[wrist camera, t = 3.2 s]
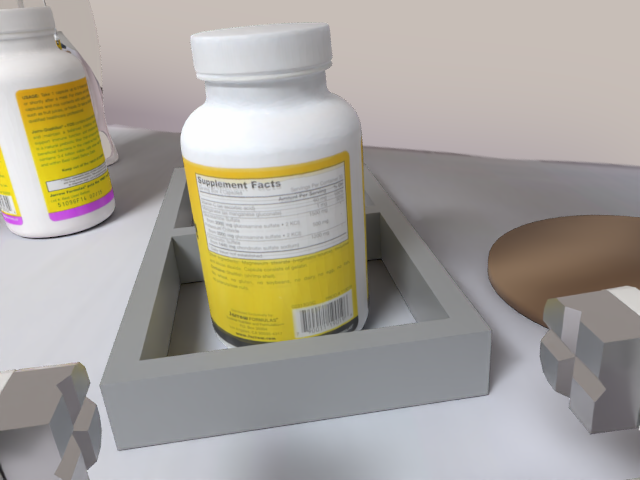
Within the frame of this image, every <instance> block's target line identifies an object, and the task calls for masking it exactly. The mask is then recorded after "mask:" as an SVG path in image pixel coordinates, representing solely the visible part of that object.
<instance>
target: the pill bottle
mask: <svg viewBox="0 0 640 480" xmlns="http://www.w3.org/2000/svg"><path fill="white" fill-rule="evenodd" d="M190 41H191V49H192V55H193V62H194V69H195V71H196V72H197V75H196V76H197V78H198V79H200V80H204V81H205V89H206V97H207V98H206V102H205V103H204V104H203V105H202V106H200V107H199V108H197V109H196V110H195V111H194V112H193V113H192V114H191V115H190V116H189V117H188V119H187V120H186V122H185V124H184V126H183V128H182V132H181V141H180V142H181V151H182V157H183V163H184V169H185V174H186V180H187V185H188V191H189V197H190V203H191V208H192V214H193V219H194V225H195V230H196V236H197V242H198V247H199V253H200V259H201V264H202V270H203V275H204V281H205V286H206V291H207V297H208V302H209V308H210V314H211V319H212V323H213V327H214V330H215V333H216V335H217V336H218V338H219V339H220V341H221V342H222V343H223V344H224V345H225V346H226V347H227V348H228V349H229V348H236V347H243V346H251V345H258V344H265V343H273V342H280V341H287V340H295V339H302V338H309V337H316V336H324V335H331V334H338V333H346V332H353V331H360V330H361V329H362V327H363V326H364V324H365V322H366V319H367V316H368V311H369V293H368V271H367V241H366V215H365V192H364V167H363V146H362V132H361V124H360V120H359V117H358V115H357V113H356V111H355V110H354V108H353V107H352V106H351V105H350V104H349V103H348V102H347V101H346V100H345V99H343V98H342V97H340V96H338V95H336V94H334V93H331V92H330V91H328V89H327V86H326V75H325V70H326V69H328V68H330V67H331V66H332V62H331V59H332V49H331V38H330V29H329V25H328V24H327V23H316V22H313V23H312V22H304V23H281V24H267V25H254V26H244V27H235V28H225V29H218V30H211V31H205V32H200V33H196V34H193V35H191V38H190Z"/></svg>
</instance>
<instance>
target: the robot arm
mask: <svg viewBox="0 0 640 480" xmlns="http://www.w3.org/2000/svg"><path fill="white" fill-rule="evenodd" d="M543 321H544V322H545V323H546V325H547V326H548V327H549V328H550V329H549V331H548V332H547V333H546V335H545V336H544V337H543V338H542V340H541V345H540V360H541V364H542V369H543V372H544V374H545V376H546V379H547V381H548V382H549V384H550V385H551V386H552V388H553V389H554V390H555V391H556V392H558V393H560V394H562V395H565V396H567V397H569V398H570V402H569V409H570V410H571V411H572V412H573V414H574V415H575V416H576V417H577V419H578V420H579V421H580V422H581V423H582V425H583V426H584V427H585V428H586V430H587V431H588V432H589V433H590V434H597V433H604V432H612V431H619V430H627V429H634V428H639V431H640V290H638V289H637V288H635V287H631V286H623V287H617V288H611V289H605V290H601V291H595V292H589V293H583V294H576V295H570V296H564V297H558V298H552V299H548V300H547V302H546V304H545V307H544V313H543ZM89 385H90V380H89V377H88V374H87V371H86V368H85V366H83V365H82V364H81V363H80V362H77V363H68V364H60V365H51V366H43V367H34V368H26V369H19V370H8V371H1V372H0V480H90V479H89V476H88V472H87V470H88V469H89V468H90V467H91V466H92V465H94V464H95V463H96V462H97V459H98V455H99V452H100V448H101V432H102V430H101V422H100V415H99V412H98V408H97V405H96V404H95V403H94V402H92V401H91V400H90V399H88V398H87V397H86V394H87V391H88V388H89ZM628 480H640V478H634V479H628Z"/></svg>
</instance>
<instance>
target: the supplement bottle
mask: <svg viewBox="0 0 640 480" xmlns="http://www.w3.org/2000/svg"><path fill="white" fill-rule="evenodd" d="M54 27H56V25H55V21H54V17H53V13H52V10H51V7H49V6H43V7H26V8H12V9H0V208H1V211H2V214H3V217H4V219H5V222H6V225H7V227H8V228H9V229H10V231H12V232H13V233H14V234H16V235H19V236H22V237H30V238H42V237H55V236H61V235H67V234H72V233H75V232H79V231H82V230H85V229H88V228H91V227H93V226H95V225H97V224H99V223H101V222H102V221H104V220H105V219H107V218H108V217H109V216H110V215H111V214H112V213H113V211H114V209H115V198H114V194H113V189H112V185H111V181H110V177H109V172H108V168H107V164H106V160H105V156H104V152H103V148H102V144H101V139H100V135H99V131H98V127H97V123H96V118H95V114H94V110H93V106H92V102H91V97H90V93H89V89H88V84H87V80H86V76H85V72H84V69H83V66H82V64H81V62H80V61H79V60H78V59H77V58H76V57H75V56H74V55H72V54H70V53H68V52H66V51H62V50H60V49H59V48H58V47H57V45H56V42H55V39H54V33H55V30H54Z"/></svg>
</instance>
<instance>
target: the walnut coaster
mask: <svg viewBox="0 0 640 480" xmlns="http://www.w3.org/2000/svg"><path fill="white" fill-rule="evenodd" d="M488 276H489V280H490V282H491V284H492V287H493V288H494V289H495V291H496V292H497V294H498V295H499V296H500V297H501V298H502V299H503V300H504V301H505V302H506V303H507V304H508V305H510V306H511V307H512V308H514V309H515V310H516V311H518V312H519V313H521V314H522V315H524V316H526V317H527V318H529V319H530V320H532V321H534V322H536V323H538V324H540V325H542V326H544V327H546V328H548V329H550V328H549V327H548V326H547V325H546V323H545V322H544V321H543V313H544V307H545V304H546V302H547V300H548V299H552V298H558V297H564V296H570V295H576V294H583V293H589V292H595V291H601V290H605V289H611V288H617V287H623V286H631V287H635V288H637V289H638V290H640V218H639V217H629V216H613V215H580V216H567V217H558V218H551V219H545V220H541V221H536V222H532V223H529V224H526V225H523V226H520V227H518V228H515V229H513V230H511V231H509V232H507V233H506V234H504V235H503V236H501V237H500V238H499V239H498V240H497V241H496V242H495V243H494V244H493V246H492V248H491V250H490V252H489V258H488Z"/></svg>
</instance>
